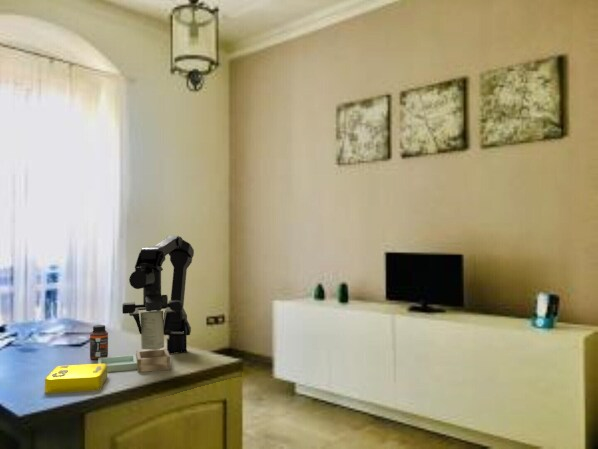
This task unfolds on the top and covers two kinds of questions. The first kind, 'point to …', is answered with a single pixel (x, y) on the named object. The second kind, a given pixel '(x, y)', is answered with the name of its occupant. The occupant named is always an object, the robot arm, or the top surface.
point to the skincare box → (152, 330)
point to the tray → (119, 362)
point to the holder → (152, 360)
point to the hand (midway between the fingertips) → (152, 332)
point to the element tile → (76, 378)
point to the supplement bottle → (98, 342)
